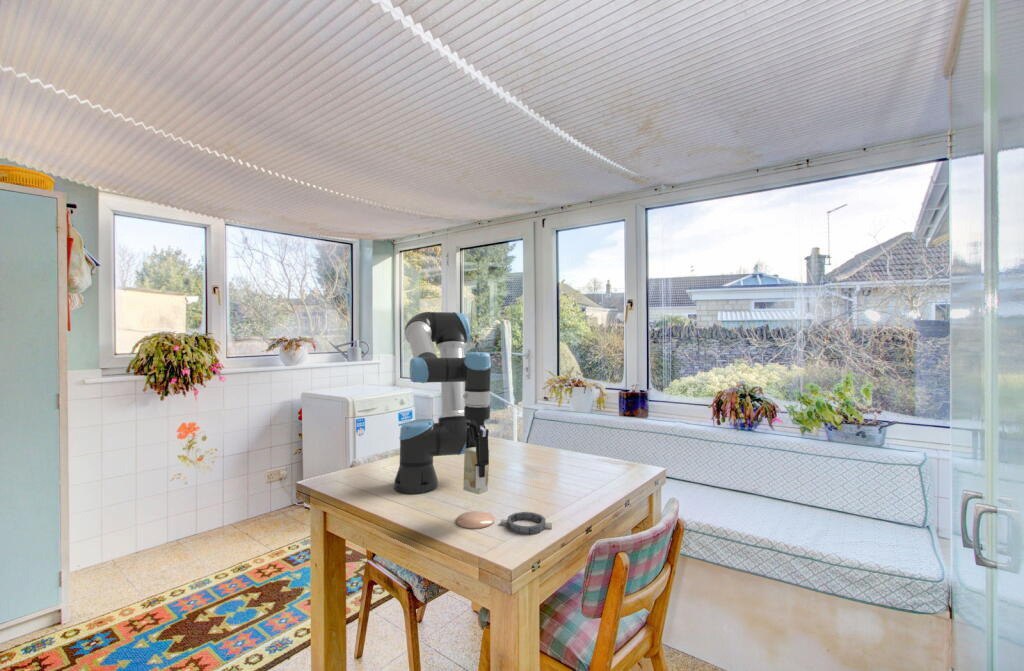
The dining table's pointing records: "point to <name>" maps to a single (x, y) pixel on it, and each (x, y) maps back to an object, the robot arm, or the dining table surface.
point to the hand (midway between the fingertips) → (476, 483)
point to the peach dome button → (475, 520)
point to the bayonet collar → (526, 529)
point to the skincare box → (472, 472)
